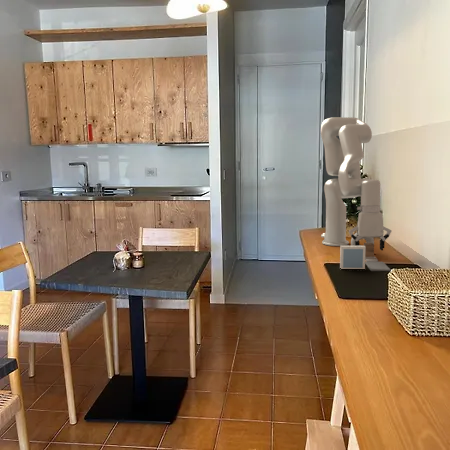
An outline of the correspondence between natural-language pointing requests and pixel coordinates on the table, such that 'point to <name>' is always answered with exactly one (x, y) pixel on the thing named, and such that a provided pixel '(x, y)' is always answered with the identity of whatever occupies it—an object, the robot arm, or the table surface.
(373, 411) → the table surface
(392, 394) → the table surface
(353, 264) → the tile
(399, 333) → the table surface
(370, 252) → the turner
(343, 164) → the robot arm
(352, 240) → the donut
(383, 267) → the mat
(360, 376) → the table surface
